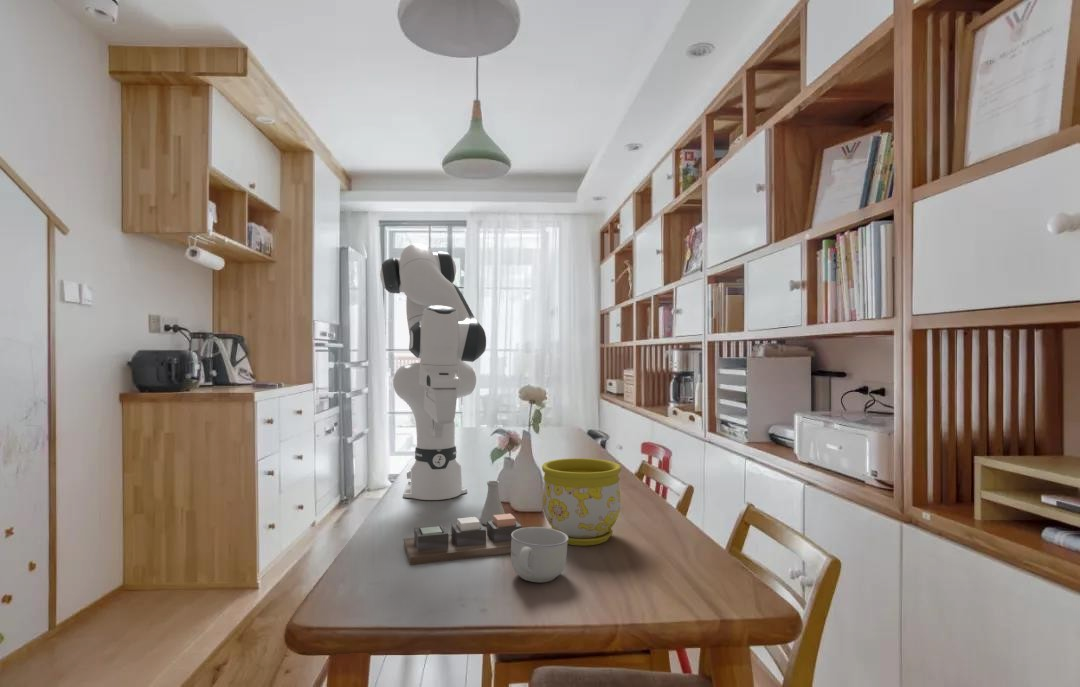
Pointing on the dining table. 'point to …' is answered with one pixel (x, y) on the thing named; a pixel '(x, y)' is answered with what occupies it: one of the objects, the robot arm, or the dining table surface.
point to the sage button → (430, 530)
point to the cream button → (468, 524)
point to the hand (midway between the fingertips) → (437, 436)
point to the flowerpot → (582, 498)
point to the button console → (459, 543)
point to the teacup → (538, 553)
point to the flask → (491, 503)
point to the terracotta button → (504, 520)
